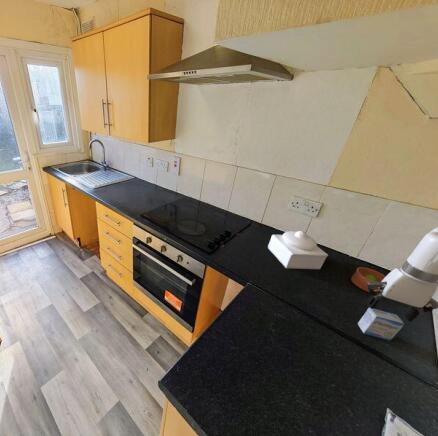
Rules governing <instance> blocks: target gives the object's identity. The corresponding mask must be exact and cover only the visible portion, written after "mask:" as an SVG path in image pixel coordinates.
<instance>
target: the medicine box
mask: <svg viewBox="0 0 438 436" xmlns="http://www.w3.org/2000/svg"><path fill="white" fill-rule="evenodd" d="M357 325H358V327H359V328H360V330H361V331H362V333H363V335H367V336H370V337H375V338H378V339H382V340H386V341H389V342H390V341H392V340H393V339H394V337H395V336H396V335H397V334H398V333H399V332H400V330H401V329H402V328H403V327H404V326H405V323H404V322H403V320H402V319H401V318H400V317H399V315H397V314H396V313H392V312H388V311H384V310H380V309H377V308H374V309H371V308H370V307H368V308H367V310H366V311H365V313H364V314H363V315H362V317H361V318H360V320H359V321H358V322H357Z"/></svg>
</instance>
